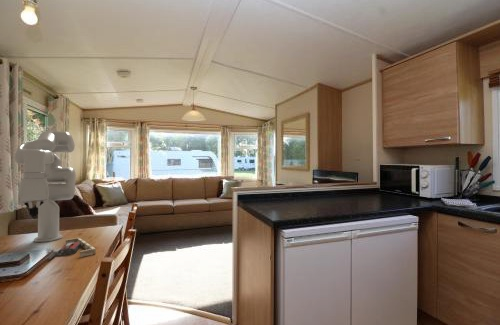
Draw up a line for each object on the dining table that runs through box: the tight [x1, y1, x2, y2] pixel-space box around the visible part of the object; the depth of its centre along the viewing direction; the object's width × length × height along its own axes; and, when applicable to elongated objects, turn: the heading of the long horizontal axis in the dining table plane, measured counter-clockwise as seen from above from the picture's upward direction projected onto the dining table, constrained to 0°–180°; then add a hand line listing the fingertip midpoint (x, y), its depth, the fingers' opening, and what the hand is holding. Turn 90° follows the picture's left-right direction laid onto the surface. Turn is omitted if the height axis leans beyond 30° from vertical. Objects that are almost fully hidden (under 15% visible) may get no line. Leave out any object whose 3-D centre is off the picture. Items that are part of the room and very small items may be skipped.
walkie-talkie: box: [47, 242, 82, 261], centre depth 119 cm, size 9×4×20 cm
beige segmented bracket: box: [64, 237, 97, 258], centre depth 125 cm, size 27×6×2 cm, turn 49°
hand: (33, 216), depth 112 cm, fingers closed
